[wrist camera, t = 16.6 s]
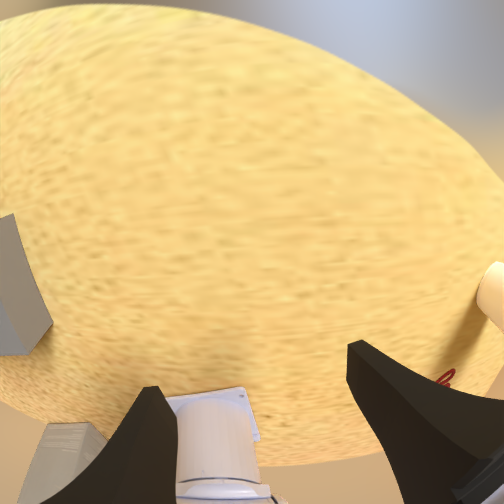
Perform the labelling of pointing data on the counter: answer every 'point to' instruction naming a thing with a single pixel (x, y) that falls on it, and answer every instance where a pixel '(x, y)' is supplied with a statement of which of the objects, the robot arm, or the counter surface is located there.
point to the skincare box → (60, 459)
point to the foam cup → (493, 294)
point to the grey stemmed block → (18, 296)
